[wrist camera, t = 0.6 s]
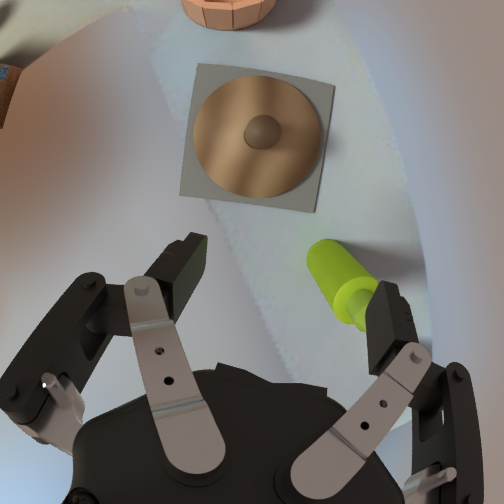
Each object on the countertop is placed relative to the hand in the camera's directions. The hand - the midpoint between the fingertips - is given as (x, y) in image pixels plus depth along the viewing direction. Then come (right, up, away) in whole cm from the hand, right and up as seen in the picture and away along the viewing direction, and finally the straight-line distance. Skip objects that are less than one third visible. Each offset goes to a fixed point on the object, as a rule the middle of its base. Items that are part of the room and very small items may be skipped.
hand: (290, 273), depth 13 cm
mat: (-1, +16, +23) cm, 28 cm away
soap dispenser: (+9, 0, +30) cm, 31 cm away
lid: (-1, +16, +23) cm, 28 cm away
